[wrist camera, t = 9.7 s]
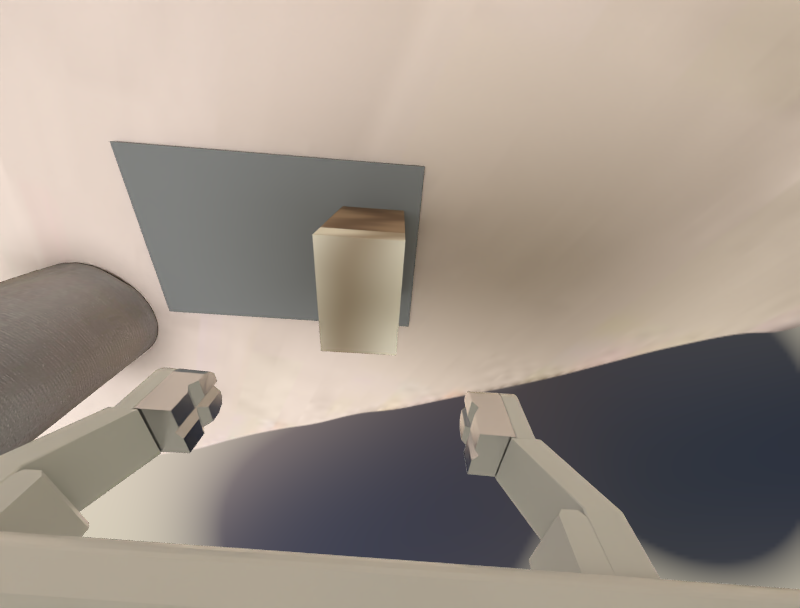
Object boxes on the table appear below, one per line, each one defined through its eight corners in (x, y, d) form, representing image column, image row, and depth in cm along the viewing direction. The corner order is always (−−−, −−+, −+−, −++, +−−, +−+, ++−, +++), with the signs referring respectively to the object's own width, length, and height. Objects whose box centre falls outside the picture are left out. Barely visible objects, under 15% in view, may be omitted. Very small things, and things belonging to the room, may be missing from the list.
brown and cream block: (404, 210, 21) (405, 241, 14) (397, 295, 24) (396, 355, 17) (342, 206, 21) (312, 234, 14) (344, 292, 24) (321, 350, 17)
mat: (424, 166, 20) (424, 166, 20) (408, 324, 26) (408, 326, 26) (115, 141, 19) (109, 141, 19) (172, 309, 26) (169, 311, 25)
